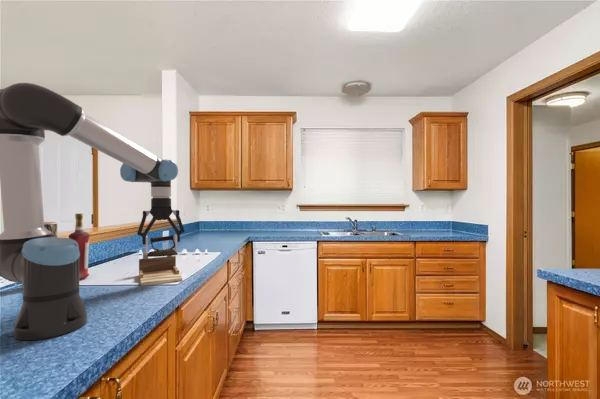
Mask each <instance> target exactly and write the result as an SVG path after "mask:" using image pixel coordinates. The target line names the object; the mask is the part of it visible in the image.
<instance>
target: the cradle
mask: <svg viewBox="0 0 600 399" xmlns="http://www.w3.org/2000/svg"><path fill="white" fill-rule="evenodd" d="M148 253H149V252H148ZM148 253H146V251H143V252H142V258H139V259H138V277H139V280H140V281H139V282H140V286H141V287H143V286H152V285H161V284H167V283H168V284H169V283H175V282H174V281H177V282H183V277H182V276H181V274H180V270H179V268H178V267H177V266H176V265H177V264H176V258H177V257H176V256H177V255H172V256H158V257H147V254H148Z"/></svg>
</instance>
